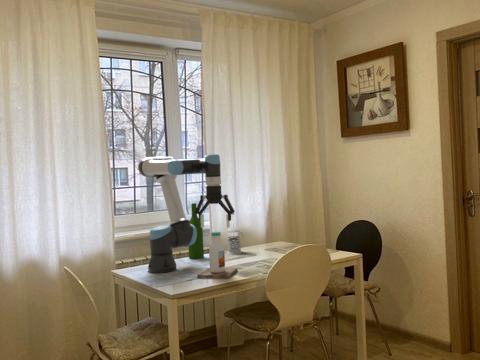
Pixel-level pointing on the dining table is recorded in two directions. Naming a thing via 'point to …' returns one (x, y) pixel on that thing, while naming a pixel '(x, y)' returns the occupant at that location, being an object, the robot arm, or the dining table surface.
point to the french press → (230, 247)
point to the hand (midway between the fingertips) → (215, 227)
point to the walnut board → (222, 275)
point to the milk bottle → (216, 254)
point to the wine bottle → (197, 248)
